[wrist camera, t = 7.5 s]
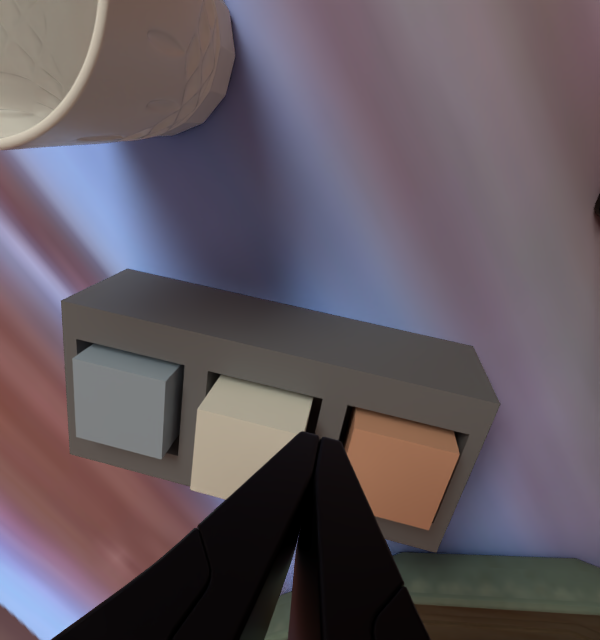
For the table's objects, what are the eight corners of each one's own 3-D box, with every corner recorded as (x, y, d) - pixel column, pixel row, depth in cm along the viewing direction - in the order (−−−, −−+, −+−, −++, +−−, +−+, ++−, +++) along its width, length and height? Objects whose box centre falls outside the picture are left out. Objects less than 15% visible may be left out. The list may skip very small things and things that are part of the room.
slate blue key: (195, 348, 20) (165, 381, 17) (189, 419, 21) (161, 459, 18) (114, 329, 20) (72, 358, 17) (114, 400, 22) (76, 436, 19)
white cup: (123, 173, 20) (-90, 195, 11) (38, -18, 18) (-324, -193, 9) (276, 111, 18) (172, 75, 9) (205, -115, 16) (-41, -485, 6)
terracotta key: (447, 409, 19) (459, 454, 16) (421, 478, 20) (428, 530, 17) (357, 387, 19) (354, 428, 16) (339, 457, 21) (333, 504, 18)
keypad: (472, 346, 20) (500, 404, 16) (424, 473, 24) (436, 552, 19) (127, 268, 22) (60, 300, 17) (126, 398, 25) (69, 453, 20)
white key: (314, 391, 18) (303, 435, 15) (298, 464, 20) (285, 515, 17) (224, 370, 18) (197, 408, 16) (215, 442, 20) (190, 490, 17)
